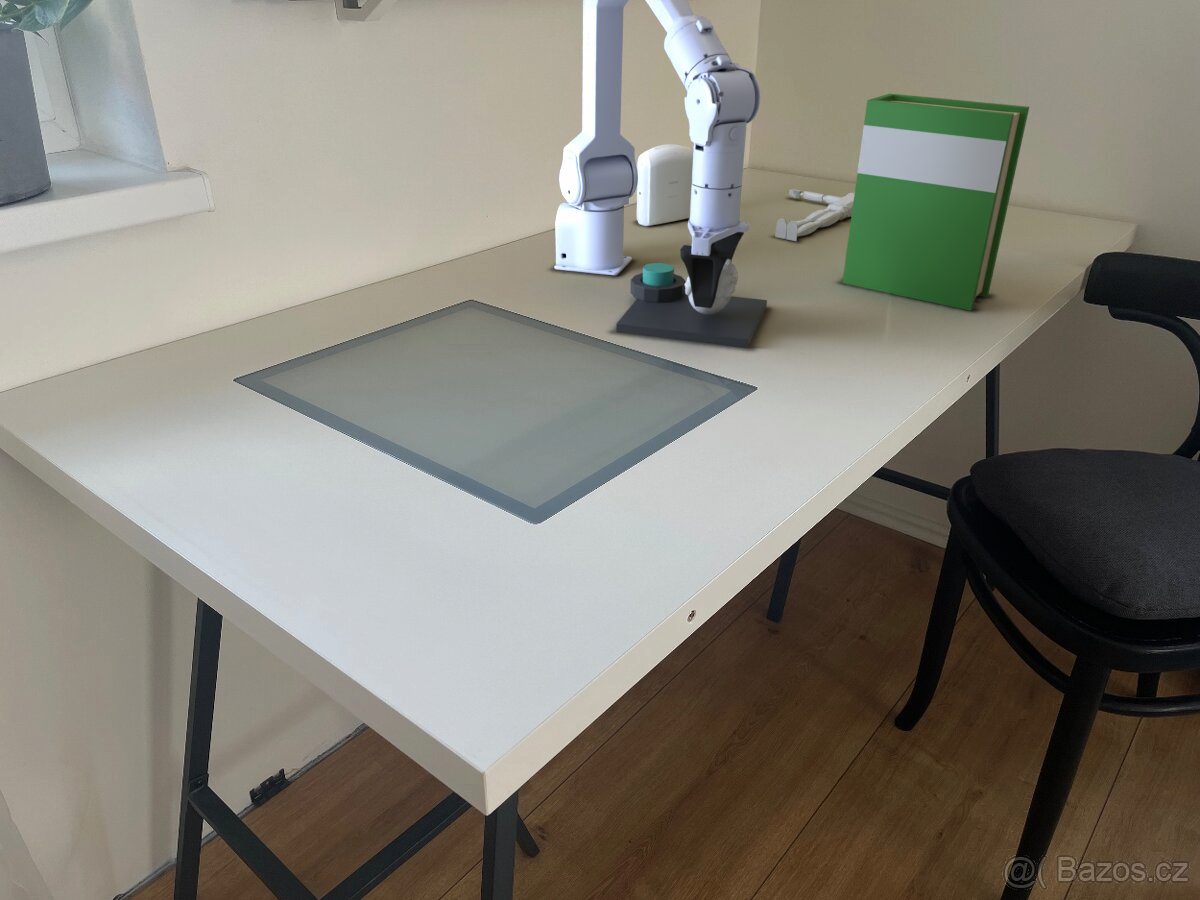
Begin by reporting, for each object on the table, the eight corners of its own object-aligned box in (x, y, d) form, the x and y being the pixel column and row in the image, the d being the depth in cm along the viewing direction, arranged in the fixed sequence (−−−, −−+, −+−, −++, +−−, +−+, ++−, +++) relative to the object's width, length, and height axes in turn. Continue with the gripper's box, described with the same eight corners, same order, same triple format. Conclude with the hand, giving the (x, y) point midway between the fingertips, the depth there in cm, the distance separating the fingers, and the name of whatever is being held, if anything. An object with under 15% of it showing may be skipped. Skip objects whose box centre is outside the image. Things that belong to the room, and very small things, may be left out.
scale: (604, 331, 112) (604, 307, 111) (639, 291, 125) (639, 269, 124) (747, 348, 107) (749, 324, 106) (768, 305, 120) (770, 283, 119)
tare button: (639, 286, 119) (639, 270, 118) (647, 276, 122) (647, 261, 121) (669, 289, 118) (669, 273, 117) (676, 279, 121) (677, 264, 120)
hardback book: (988, 295, 124) (1029, 106, 112) (970, 310, 119) (1011, 114, 107) (863, 270, 133) (889, 93, 122) (842, 283, 128) (867, 100, 116)
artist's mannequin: (715, 205, 153) (809, 170, 172) (714, 227, 155) (807, 190, 174) (866, 236, 137) (950, 194, 156) (863, 261, 139) (947, 216, 158)
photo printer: (647, 228, 152) (649, 150, 146) (632, 222, 155) (633, 146, 149) (696, 219, 157) (700, 143, 151) (680, 213, 160) (684, 139, 154)
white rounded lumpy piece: (746, 311, 114) (751, 256, 110) (710, 326, 109) (714, 269, 106) (707, 299, 117) (711, 245, 114) (671, 313, 113) (674, 257, 110)
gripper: (740, 201, 99) (730, 321, 105) (761, 172, 111) (752, 281, 117) (675, 196, 100) (670, 314, 107) (704, 168, 113) (697, 276, 119)
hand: (709, 296), depth 112 cm, fingers closed on white rounded lumpy piece, 6 cm apart
